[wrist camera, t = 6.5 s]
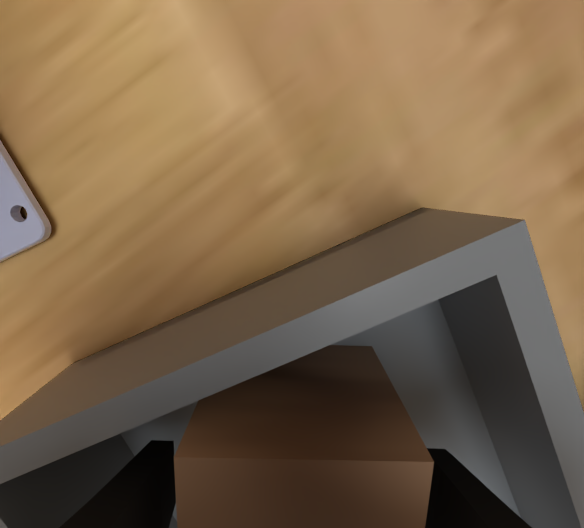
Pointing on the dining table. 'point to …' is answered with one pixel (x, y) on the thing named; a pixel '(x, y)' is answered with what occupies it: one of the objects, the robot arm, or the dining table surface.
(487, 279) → the tote
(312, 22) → the dining table surface
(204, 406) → the walnut block
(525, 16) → the dining table surface
